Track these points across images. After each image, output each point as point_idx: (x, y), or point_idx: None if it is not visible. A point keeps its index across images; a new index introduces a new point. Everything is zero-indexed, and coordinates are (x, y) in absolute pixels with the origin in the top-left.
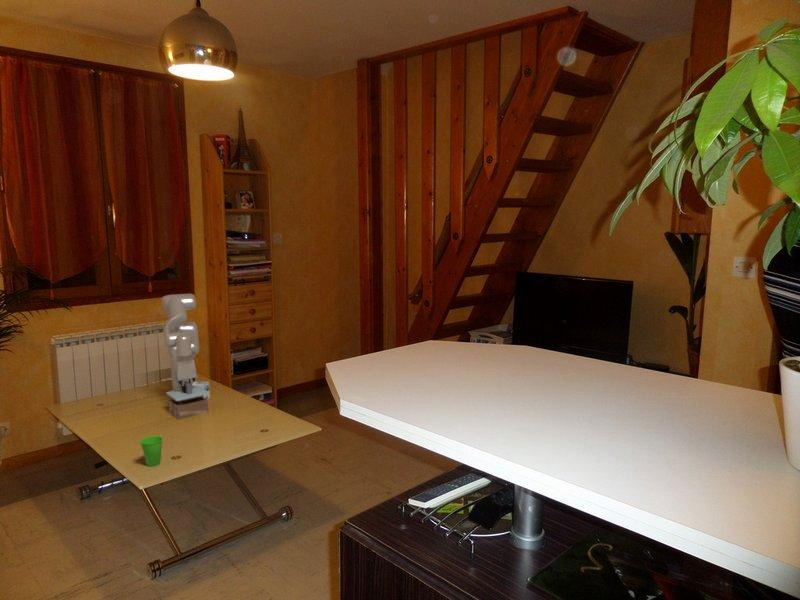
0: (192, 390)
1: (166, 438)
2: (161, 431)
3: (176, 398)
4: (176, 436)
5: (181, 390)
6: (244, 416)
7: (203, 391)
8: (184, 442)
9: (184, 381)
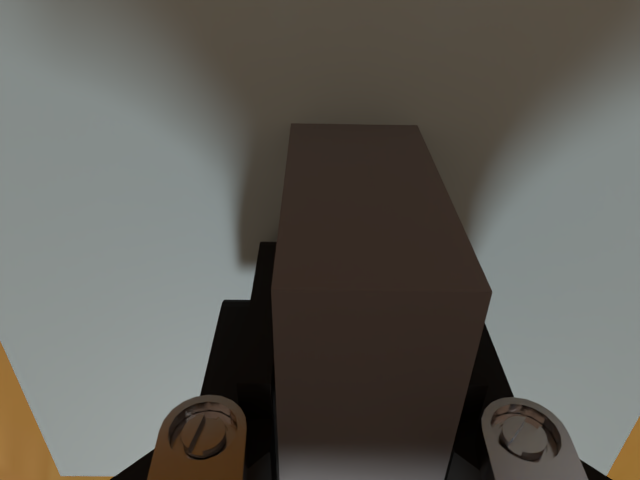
0: (484, 258)
1: (37, 469)
2: (3, 360)
3: (75, 457)
4: (103, 476)
5: (281, 72)
6: (621, 450)
7: (577, 423)
8: None
9: (391, 314)
